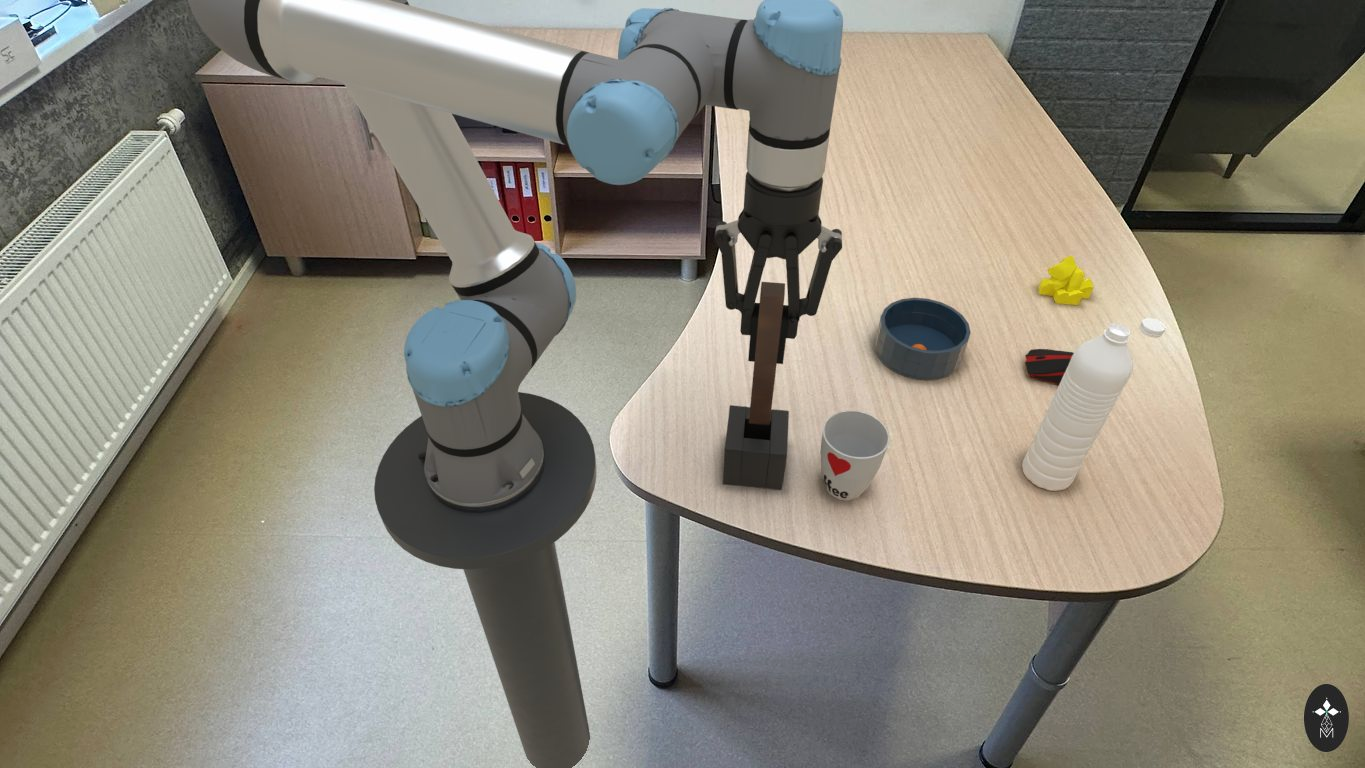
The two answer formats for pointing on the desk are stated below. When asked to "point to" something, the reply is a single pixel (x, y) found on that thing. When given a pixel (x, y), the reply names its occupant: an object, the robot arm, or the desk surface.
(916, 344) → the bead
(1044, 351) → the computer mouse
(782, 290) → the stick
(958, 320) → the bowl
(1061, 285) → the crumpled paper
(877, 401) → the desk surface
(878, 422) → the cup
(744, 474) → the holder
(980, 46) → the desk surface
